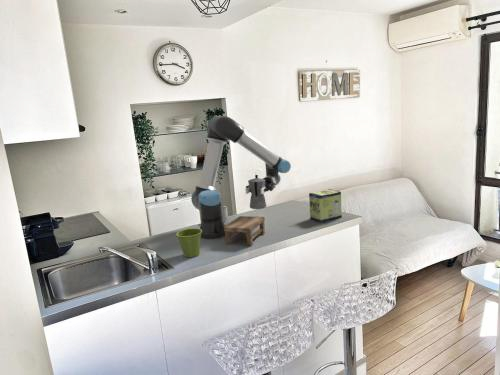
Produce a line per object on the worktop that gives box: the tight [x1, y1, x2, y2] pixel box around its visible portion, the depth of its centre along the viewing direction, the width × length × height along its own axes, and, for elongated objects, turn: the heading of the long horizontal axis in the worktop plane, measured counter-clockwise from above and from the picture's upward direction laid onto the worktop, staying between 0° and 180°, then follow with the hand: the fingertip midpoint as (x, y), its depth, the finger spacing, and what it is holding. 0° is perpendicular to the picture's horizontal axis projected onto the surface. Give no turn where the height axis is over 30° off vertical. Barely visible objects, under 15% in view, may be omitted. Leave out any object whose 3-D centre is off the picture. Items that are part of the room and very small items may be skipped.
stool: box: [224, 215, 266, 247], centre depth 195 cm, size 14×20×9 cm
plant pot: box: [175, 227, 202, 258], centre depth 177 cm, size 12×12×11 cm
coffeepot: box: [247, 174, 267, 210], centre depth 206 cm, size 15×9×18 cm, turn 175°
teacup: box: [222, 205, 229, 222], centre depth 233 cm, size 14×11×8 cm
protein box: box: [308, 188, 343, 223], centre depth 219 cm, size 10×16×16 cm
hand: (253, 191), depth 202 cm, fingers closed on coffeepot, 8 cm apart
